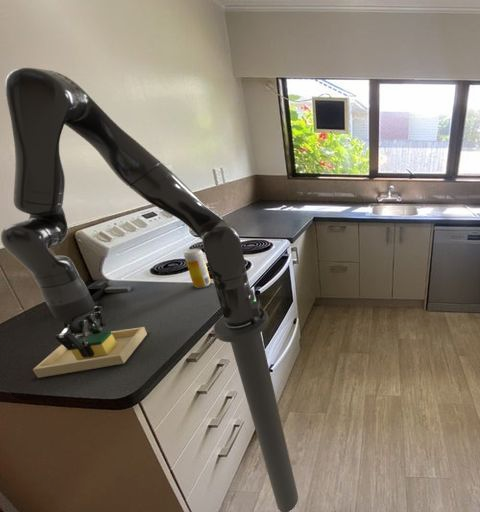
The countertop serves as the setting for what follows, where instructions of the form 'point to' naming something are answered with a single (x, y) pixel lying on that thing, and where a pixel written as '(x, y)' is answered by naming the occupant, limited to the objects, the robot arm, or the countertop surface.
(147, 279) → the countertop surface
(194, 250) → the white and yellow cylinder
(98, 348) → the sponge
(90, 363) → the tray
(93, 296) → the door handle
